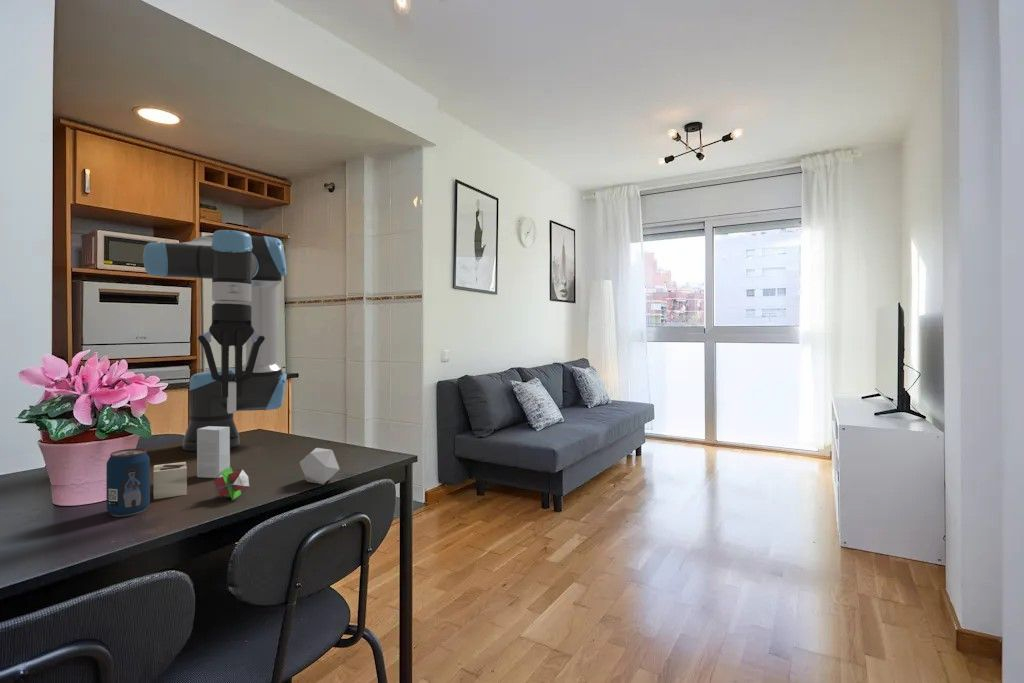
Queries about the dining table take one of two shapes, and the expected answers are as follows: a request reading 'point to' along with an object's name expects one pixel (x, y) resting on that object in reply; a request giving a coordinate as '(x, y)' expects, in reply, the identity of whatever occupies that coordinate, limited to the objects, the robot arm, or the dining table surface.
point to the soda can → (128, 482)
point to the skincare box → (212, 451)
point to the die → (319, 465)
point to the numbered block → (170, 480)
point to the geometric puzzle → (231, 482)
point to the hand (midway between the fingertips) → (231, 412)
